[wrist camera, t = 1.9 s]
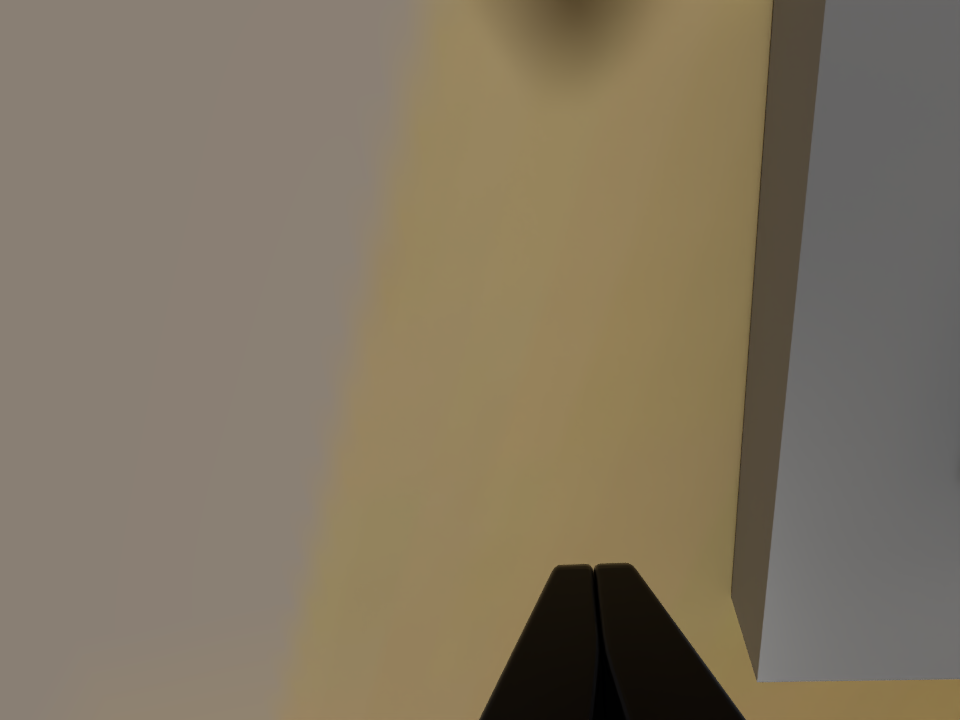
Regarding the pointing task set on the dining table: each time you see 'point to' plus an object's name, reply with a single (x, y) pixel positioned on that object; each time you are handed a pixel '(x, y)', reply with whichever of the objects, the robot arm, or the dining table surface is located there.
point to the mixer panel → (855, 350)
